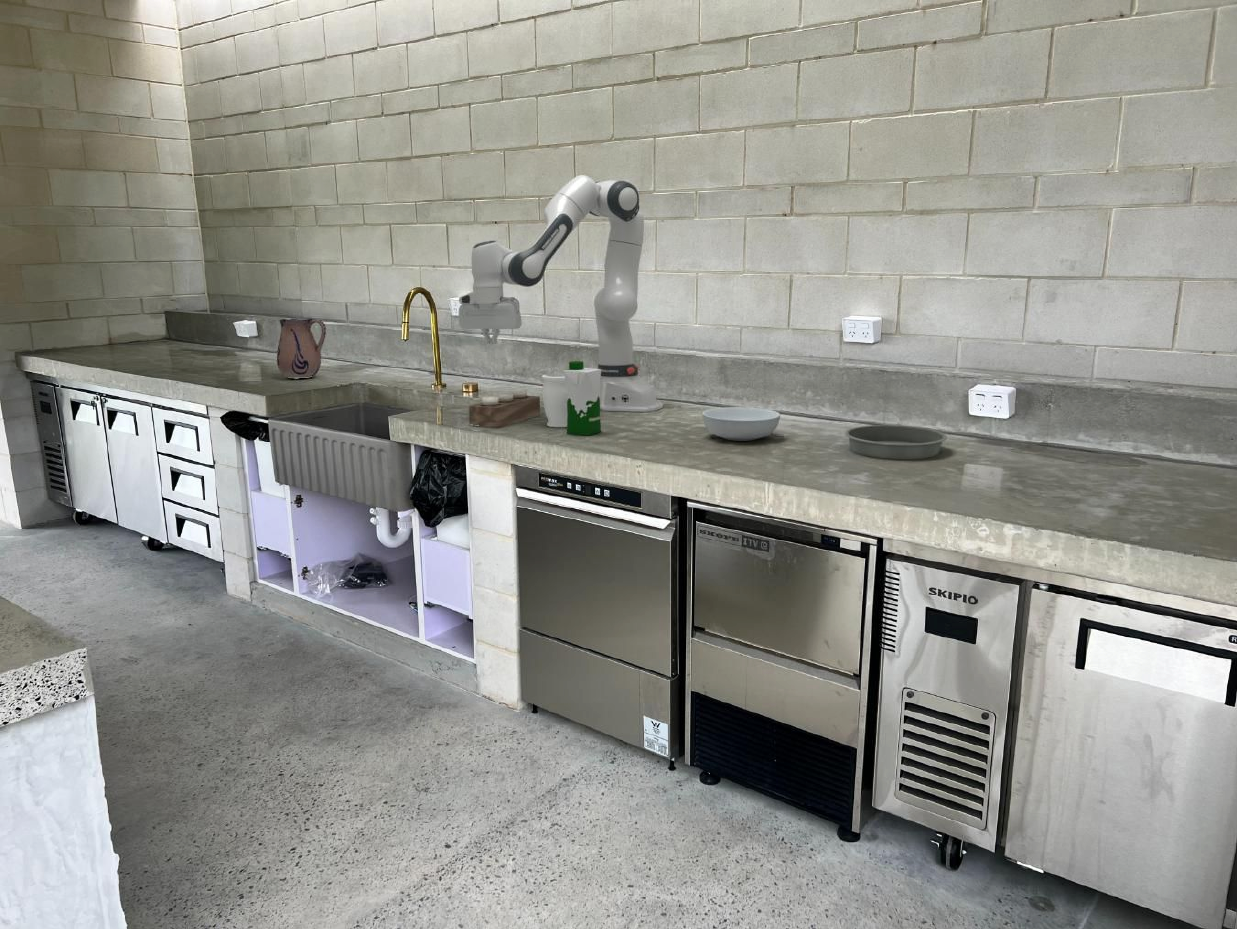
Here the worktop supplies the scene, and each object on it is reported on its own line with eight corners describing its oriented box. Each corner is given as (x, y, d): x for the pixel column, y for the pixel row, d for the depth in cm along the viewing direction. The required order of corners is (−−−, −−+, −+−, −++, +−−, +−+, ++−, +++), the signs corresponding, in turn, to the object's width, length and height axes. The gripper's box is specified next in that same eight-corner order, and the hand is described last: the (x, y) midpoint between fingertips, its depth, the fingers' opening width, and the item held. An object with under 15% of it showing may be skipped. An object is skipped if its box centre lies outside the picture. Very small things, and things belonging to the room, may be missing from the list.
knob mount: (540, 415, 293) (539, 396, 292) (498, 428, 272) (497, 407, 271) (513, 413, 297) (512, 394, 296) (469, 425, 276) (468, 405, 275)
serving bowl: (726, 448, 240) (727, 422, 238) (688, 434, 258) (688, 410, 257) (794, 441, 248) (795, 415, 246) (753, 428, 266) (753, 404, 265)
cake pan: (837, 457, 227) (838, 439, 226) (851, 439, 250) (851, 422, 249) (943, 464, 219) (945, 445, 218) (947, 444, 241) (948, 427, 240)
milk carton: (579, 429, 269) (578, 359, 264) (606, 431, 264) (604, 361, 260) (562, 434, 262) (560, 363, 257) (588, 436, 257) (587, 364, 252)
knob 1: (502, 418, 278) (501, 396, 277) (493, 420, 274) (492, 399, 273) (488, 417, 280) (488, 396, 279) (479, 419, 276) (478, 398, 275)
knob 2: (530, 410, 292) (529, 389, 291) (522, 412, 288) (521, 391, 287) (517, 409, 294) (516, 388, 293) (509, 411, 290) (508, 391, 289)
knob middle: (516, 414, 285) (515, 393, 284) (508, 416, 281) (507, 395, 280) (503, 413, 287) (502, 392, 286) (494, 415, 283) (493, 394, 282)
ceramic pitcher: (284, 376, 400) (278, 317, 395) (334, 375, 402) (329, 316, 397) (274, 381, 383) (268, 320, 378) (326, 380, 385) (321, 319, 380)
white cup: (551, 429, 268) (550, 378, 265) (537, 424, 277) (536, 374, 274) (584, 426, 273) (583, 375, 270) (570, 421, 282) (569, 371, 279)
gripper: (524, 296, 274) (526, 343, 277) (466, 296, 282) (469, 342, 285) (512, 297, 268) (515, 345, 271) (454, 298, 277) (457, 344, 280)
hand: (491, 344), depth 278 cm, fingers closed
